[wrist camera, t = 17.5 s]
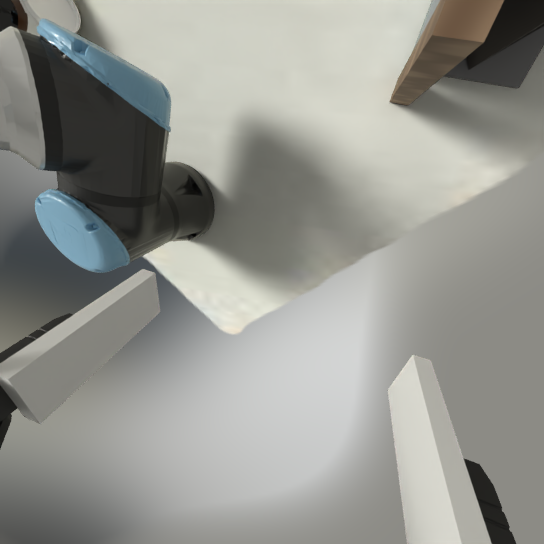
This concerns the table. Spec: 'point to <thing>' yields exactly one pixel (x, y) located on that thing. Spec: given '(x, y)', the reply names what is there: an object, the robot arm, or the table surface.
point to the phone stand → (509, 28)
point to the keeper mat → (504, 63)
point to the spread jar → (38, 14)
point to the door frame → (445, 44)
